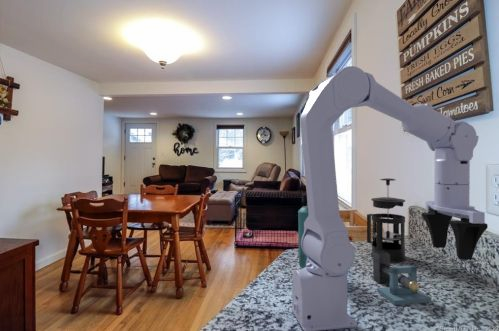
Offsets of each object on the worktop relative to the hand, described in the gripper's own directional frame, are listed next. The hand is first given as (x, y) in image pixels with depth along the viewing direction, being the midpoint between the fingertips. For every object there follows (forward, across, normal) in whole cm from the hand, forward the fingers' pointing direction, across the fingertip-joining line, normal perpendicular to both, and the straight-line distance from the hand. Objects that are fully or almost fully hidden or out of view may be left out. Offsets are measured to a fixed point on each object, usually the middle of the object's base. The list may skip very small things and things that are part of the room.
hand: (451, 252), depth 59 cm
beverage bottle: (+10, +17, +24) cm, 31 cm away
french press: (+10, +29, 0) cm, 31 cm away
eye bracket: (+10, +3, +8) cm, 13 cm away
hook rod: (+10, +5, +8) cm, 14 cm away
